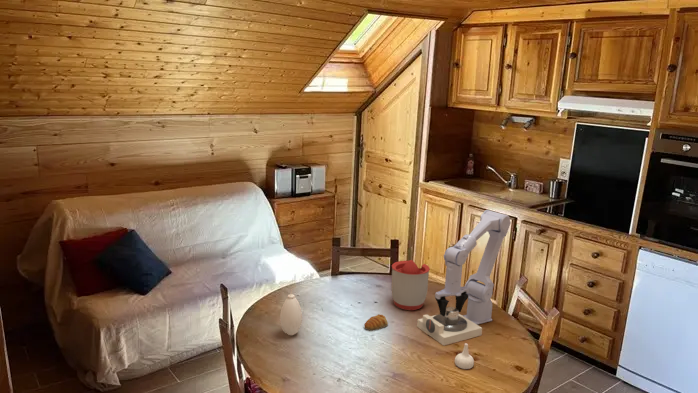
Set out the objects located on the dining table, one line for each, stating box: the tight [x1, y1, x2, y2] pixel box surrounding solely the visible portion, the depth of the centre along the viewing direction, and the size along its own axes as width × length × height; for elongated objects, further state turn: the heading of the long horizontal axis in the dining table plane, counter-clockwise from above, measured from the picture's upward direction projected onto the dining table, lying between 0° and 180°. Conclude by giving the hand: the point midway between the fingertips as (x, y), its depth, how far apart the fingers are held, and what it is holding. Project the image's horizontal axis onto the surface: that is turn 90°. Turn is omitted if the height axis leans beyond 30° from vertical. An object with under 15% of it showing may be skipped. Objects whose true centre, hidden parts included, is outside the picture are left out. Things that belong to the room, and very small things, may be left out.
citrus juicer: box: [390, 259, 430, 311], centre depth 218 cm, size 16×17×20 cm
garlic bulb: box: [454, 342, 475, 370], centre depth 174 cm, size 6×6×8 cm
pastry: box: [363, 314, 389, 331], centre depth 199 cm, size 9×7×4 cm
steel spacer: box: [444, 306, 460, 325], centre depth 196 cm, size 5×5×5 cm
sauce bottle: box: [279, 288, 303, 336], centre depth 189 cm, size 8×8×18 cm
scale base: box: [416, 313, 483, 346], centre depth 197 cm, size 18×16×6 cm
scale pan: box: [433, 313, 467, 332], centre depth 197 cm, size 13×13×1 cm
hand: (450, 313), depth 196 cm, fingers open, 7 cm apart
